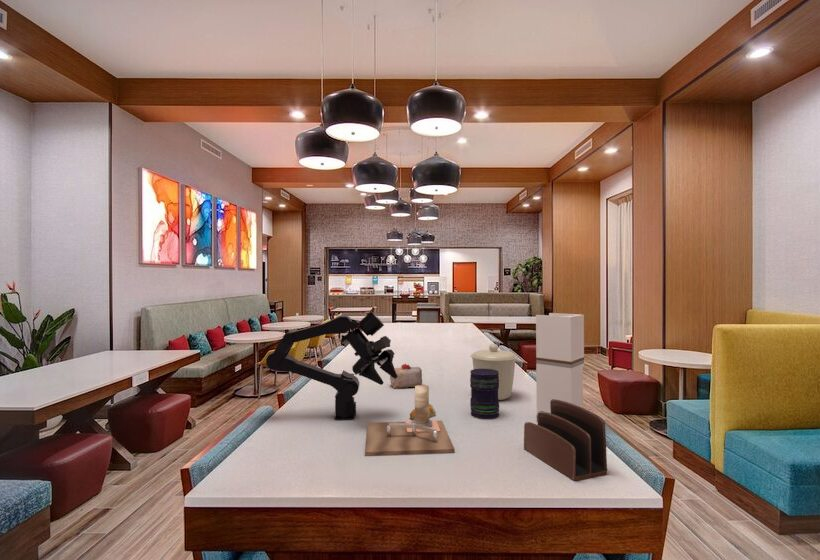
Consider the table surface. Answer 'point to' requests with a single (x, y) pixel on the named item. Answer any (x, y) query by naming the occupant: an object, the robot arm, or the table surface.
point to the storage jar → (484, 393)
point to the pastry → (431, 412)
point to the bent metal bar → (414, 427)
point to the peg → (422, 406)
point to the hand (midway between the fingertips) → (389, 380)
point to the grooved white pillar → (559, 359)
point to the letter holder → (568, 440)
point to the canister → (497, 367)
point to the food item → (407, 377)
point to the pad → (434, 425)
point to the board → (405, 441)
